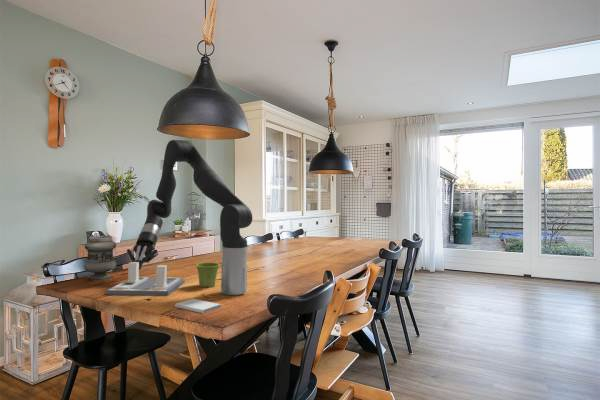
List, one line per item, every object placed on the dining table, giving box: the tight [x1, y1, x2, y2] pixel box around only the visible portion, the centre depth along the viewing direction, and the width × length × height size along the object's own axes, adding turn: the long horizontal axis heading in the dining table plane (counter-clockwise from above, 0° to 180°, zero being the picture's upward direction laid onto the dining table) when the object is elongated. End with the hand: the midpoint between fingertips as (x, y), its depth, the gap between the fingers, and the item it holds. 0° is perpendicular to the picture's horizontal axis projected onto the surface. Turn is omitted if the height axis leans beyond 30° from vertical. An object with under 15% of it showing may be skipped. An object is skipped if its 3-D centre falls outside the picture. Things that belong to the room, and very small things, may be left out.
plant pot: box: [195, 262, 221, 288], centre depth 146 cm, size 9×9×9 cm
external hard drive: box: [174, 298, 222, 314], centre depth 117 cm, size 2×8×12 cm
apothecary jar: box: [83, 235, 117, 282], centre depth 155 cm, size 12×12×18 cm
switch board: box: [105, 276, 186, 296], centre depth 140 cm, size 22×21×2 cm
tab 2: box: [155, 264, 168, 288], centre depth 135 cm, size 3×4×8 cm
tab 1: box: [126, 261, 140, 283], centre depth 141 cm, size 3×4×8 cm
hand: (135, 270), depth 143 cm, fingers closed
